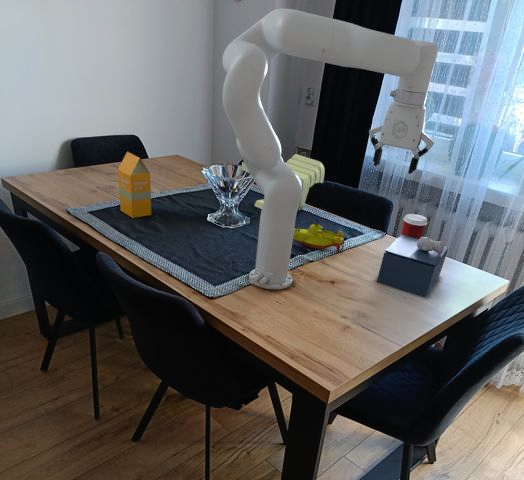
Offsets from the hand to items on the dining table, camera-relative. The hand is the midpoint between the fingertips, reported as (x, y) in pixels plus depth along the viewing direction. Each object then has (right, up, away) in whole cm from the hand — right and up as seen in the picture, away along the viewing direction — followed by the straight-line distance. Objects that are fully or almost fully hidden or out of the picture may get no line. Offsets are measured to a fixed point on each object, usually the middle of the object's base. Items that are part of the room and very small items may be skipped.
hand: (393, 168), depth 134 cm
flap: (+7, -18, +15) cm, 25 cm away
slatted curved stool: (-29, +7, +63) cm, 70 cm away
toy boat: (-17, -15, +34) cm, 40 cm away
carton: (+10, -27, +19) cm, 35 cm away
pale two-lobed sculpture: (+14, -20, +12) cm, 27 cm away
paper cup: (+13, -18, +34) cm, 41 cm away
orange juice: (-81, 0, +44) cm, 92 cm away
